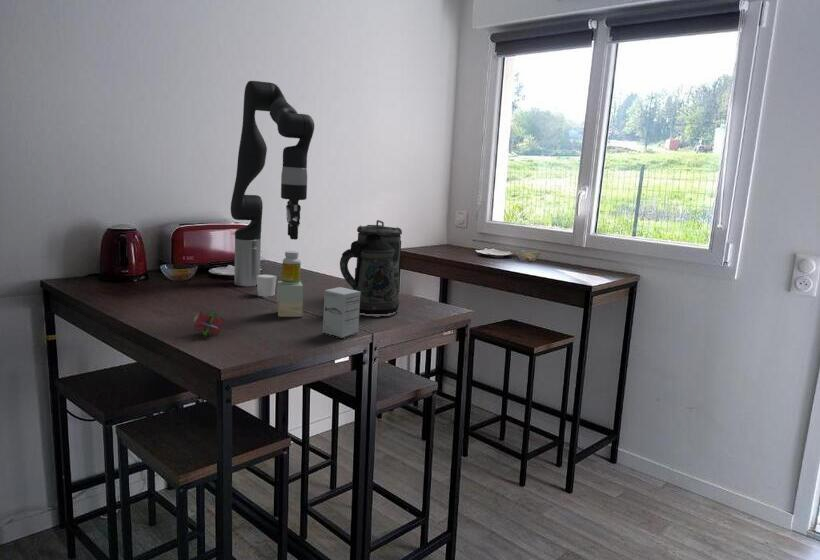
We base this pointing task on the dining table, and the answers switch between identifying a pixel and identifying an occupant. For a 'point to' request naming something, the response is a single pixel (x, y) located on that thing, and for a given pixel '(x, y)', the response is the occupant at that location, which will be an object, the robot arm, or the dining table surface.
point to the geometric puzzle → (208, 323)
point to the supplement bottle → (291, 268)
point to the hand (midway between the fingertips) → (292, 237)
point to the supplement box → (341, 311)
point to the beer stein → (372, 274)
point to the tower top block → (290, 292)
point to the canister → (391, 238)
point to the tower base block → (289, 308)
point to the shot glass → (266, 285)
